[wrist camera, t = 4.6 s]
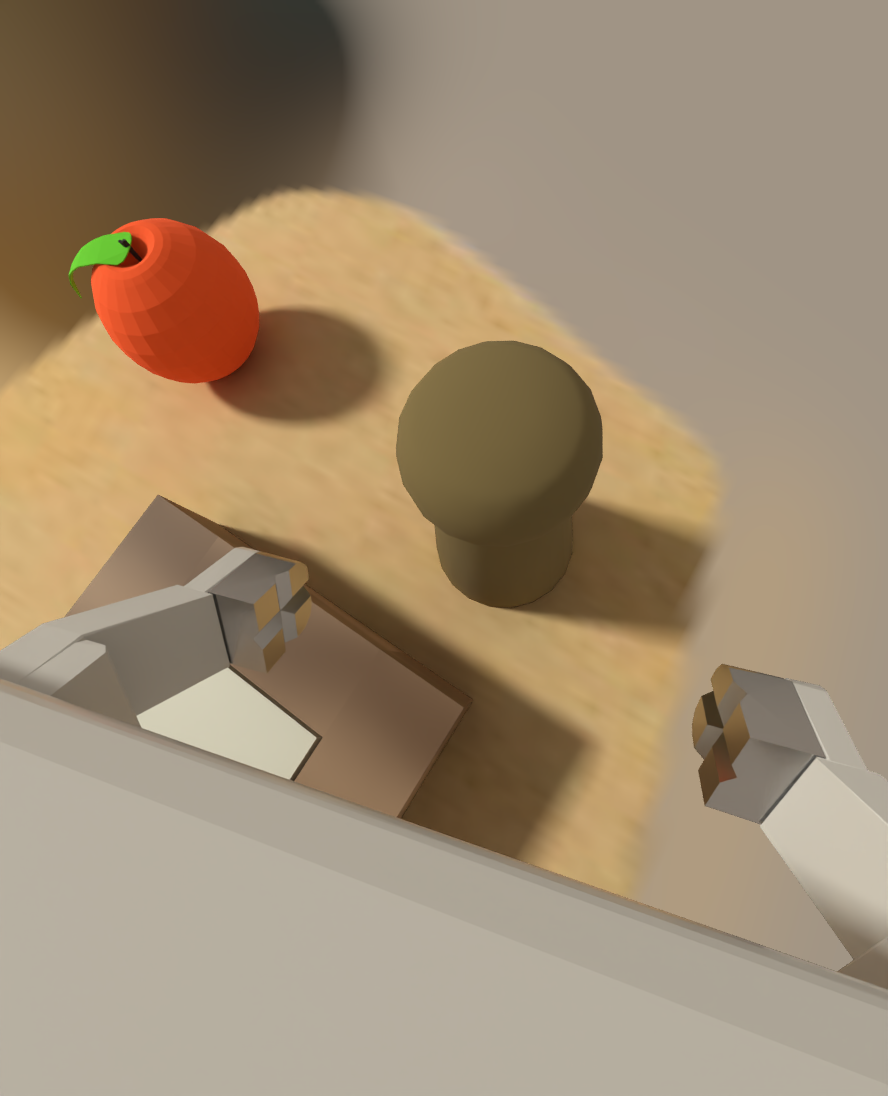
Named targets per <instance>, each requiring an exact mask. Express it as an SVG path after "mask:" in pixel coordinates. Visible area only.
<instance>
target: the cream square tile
mask: <svg viewBox="0 0 888 1096" xmlns="http://www.w3.org/2000/svg"><path fill="white" fill-rule="evenodd" d="M137 718H138V721H139V723H140V725H141V727H142V728H143V729H146V730H149V731H152V732H155V733H158V734H161V735H163V736H166V737H169V738H172V739H175V740H178V741H180V742H183V743H186V744H189V745H192V746H195V747H198V748H200V749H203V750H206V751H209V752H212V753H215V754H218V755H220V756H223V757H226V758H229V759H232V760H235V761H237V762H240V763H243V764H246V765H249V766H252V767H255V768H257V769H260V770H263V771H266V772H269V773H272V774H274V775H277V776H280V777H283V778H286V779H289V780H292V781H295V779H296V778H297V776H298V775H299V773H300V772H301V770H302V768H303V767H304V765H305V764H306V762H307V761H308V759H309V758H310V756H311V755H312V753H313V752H314V750H315V748H316V747H317V745H318V744H319V742H320V741H321V739H322V738H323V737H322V736H320V735H319V734H318V733H316V732H315V731H314V730H313V729H311V728H310V727H309V726H308V725H306V724H305V723H304V722H302V721H301V720H300V719H299V718H297V717H296V716H295V715H294V714H292V713H291V712H290V711H288V710H287V709H286V708H285V707H283V706H282V705H281V704H279V703H278V702H277V701H276V700H274V699H273V698H272V697H271V696H269V695H268V694H267V693H265V692H264V691H263V690H262V689H260V688H259V687H258V686H257V685H255V684H254V683H253V682H251V681H250V680H249V679H248V678H246V677H245V676H244V675H243V674H241V673H240V672H239V671H237V670H236V669H235V668H234V667H232V666H231V665H230V666H229V667H227V668H226V669H224V670H222V671H220V672H218V673H216V674H214V675H212V676H211V677H209V678H207V679H205V680H203V681H201V682H199V683H197V684H196V685H194V686H192V687H190V688H188V689H186V690H184V691H182V692H180V693H179V694H177V695H175V696H173V697H171V698H169V699H167V700H165V701H164V702H162V703H160V704H158V705H156V706H154V707H152V708H150V709H149V710H147V711H145V712H143V713H141V714H139V715H137Z"/></svg>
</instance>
